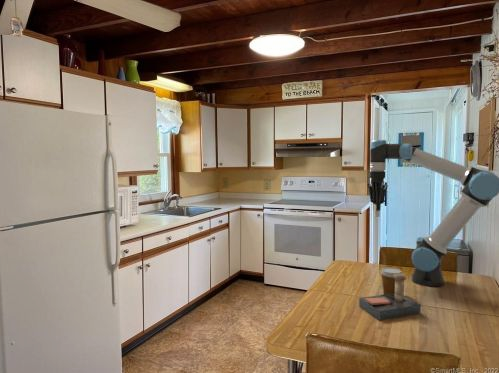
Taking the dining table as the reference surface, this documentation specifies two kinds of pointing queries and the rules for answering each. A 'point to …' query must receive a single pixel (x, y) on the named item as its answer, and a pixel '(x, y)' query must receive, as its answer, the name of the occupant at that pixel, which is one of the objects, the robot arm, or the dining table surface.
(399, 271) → the disposable coffee cup
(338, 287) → the dining table surface
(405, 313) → the plate
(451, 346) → the dining table surface
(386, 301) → the keeper tab
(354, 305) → the dining table surface
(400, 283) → the peg
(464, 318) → the dining table surface
